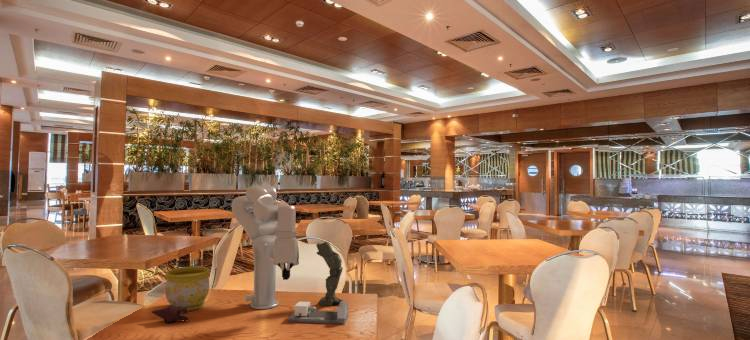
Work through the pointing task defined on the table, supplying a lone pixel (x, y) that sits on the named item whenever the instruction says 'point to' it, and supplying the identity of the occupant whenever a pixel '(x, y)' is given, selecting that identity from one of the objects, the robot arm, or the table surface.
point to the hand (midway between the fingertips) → (286, 279)
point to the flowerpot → (187, 286)
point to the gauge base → (324, 316)
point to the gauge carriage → (303, 308)
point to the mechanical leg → (335, 273)
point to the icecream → (171, 313)
